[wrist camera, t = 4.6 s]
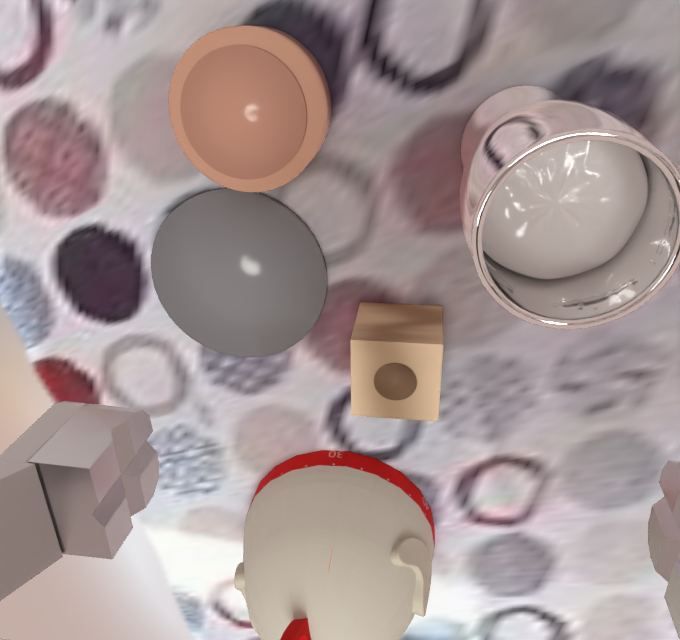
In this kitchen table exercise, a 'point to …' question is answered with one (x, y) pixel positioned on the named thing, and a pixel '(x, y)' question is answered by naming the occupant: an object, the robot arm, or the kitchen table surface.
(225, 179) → the ramekin
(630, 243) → the beer glass
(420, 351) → the oak block
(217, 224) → the coaster
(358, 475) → the kitchen timer
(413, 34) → the kitchen table surface
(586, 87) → the kitchen table surface
